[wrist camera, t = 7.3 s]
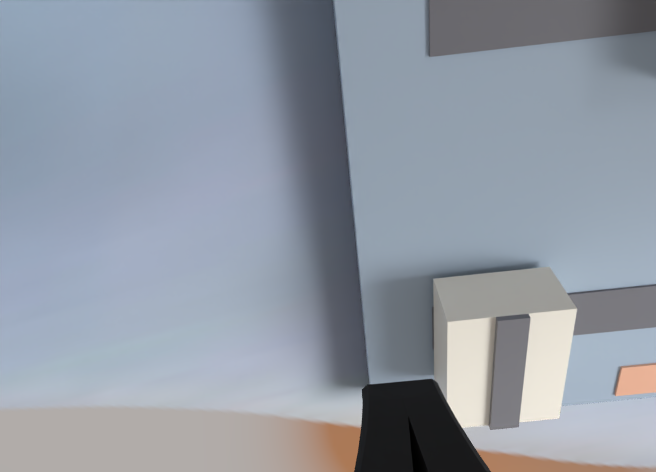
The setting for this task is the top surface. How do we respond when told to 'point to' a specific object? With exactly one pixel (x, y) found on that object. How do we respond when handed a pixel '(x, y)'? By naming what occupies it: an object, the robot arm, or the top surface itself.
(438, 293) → the knob
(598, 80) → the switch unit
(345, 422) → the top surface
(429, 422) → the robot arm
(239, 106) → the top surface
